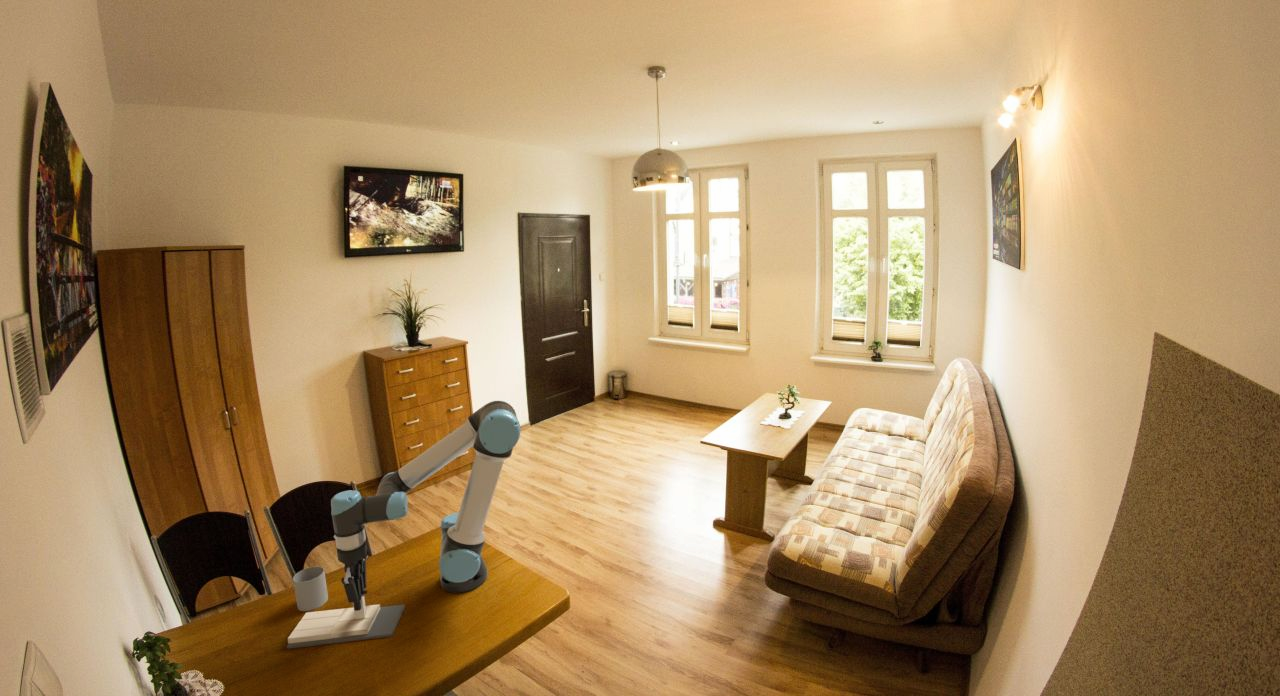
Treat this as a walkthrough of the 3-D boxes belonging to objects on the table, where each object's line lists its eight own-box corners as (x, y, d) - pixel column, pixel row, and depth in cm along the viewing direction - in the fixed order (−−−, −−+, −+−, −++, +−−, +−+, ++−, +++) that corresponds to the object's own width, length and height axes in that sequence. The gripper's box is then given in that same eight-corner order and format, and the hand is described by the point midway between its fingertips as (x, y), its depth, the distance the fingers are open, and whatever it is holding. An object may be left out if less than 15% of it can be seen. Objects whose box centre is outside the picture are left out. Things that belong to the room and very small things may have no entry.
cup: (313, 612, 162) (309, 583, 160) (290, 609, 163) (286, 580, 162) (334, 595, 170) (330, 567, 168) (312, 592, 171) (308, 565, 170)
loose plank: (380, 608, 161) (379, 603, 161) (367, 633, 151) (366, 628, 150) (345, 612, 160) (345, 608, 160) (330, 638, 149) (329, 633, 149)
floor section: (405, 606, 164) (404, 599, 163) (392, 636, 151) (391, 628, 150) (308, 617, 160) (307, 610, 159) (287, 648, 147) (285, 640, 146)
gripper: (346, 533, 157) (355, 604, 161) (327, 558, 144) (338, 634, 148) (373, 531, 158) (381, 601, 162) (356, 555, 145) (366, 630, 149)
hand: (360, 616), depth 155 cm, fingers closed
